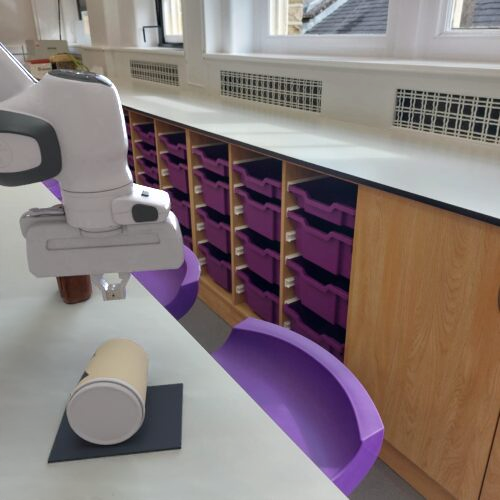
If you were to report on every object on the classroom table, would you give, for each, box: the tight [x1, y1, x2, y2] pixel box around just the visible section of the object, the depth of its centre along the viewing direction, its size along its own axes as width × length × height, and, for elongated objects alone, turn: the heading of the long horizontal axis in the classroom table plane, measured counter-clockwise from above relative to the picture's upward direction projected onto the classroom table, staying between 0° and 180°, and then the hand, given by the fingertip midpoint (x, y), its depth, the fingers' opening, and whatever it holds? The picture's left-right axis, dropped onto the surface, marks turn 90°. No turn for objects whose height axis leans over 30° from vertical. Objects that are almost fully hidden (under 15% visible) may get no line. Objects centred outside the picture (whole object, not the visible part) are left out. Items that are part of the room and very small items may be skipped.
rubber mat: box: [47, 382, 184, 464], centre depth 65 cm, size 16×12×1 cm
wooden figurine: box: [51, 202, 93, 304], centre depth 94 cm, size 12×6×18 cm, turn 25°
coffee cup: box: [65, 336, 150, 445], centre depth 64 cm, size 9×9×12 cm
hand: (115, 298), depth 68 cm, fingers closed
